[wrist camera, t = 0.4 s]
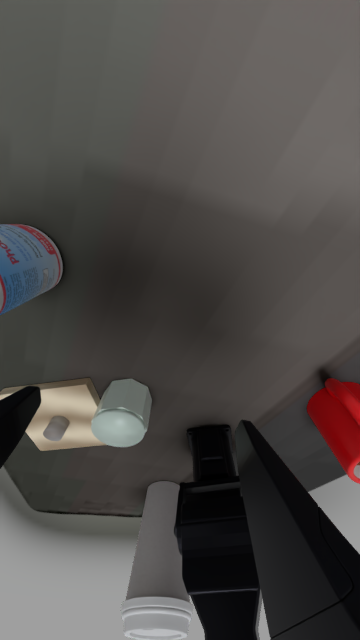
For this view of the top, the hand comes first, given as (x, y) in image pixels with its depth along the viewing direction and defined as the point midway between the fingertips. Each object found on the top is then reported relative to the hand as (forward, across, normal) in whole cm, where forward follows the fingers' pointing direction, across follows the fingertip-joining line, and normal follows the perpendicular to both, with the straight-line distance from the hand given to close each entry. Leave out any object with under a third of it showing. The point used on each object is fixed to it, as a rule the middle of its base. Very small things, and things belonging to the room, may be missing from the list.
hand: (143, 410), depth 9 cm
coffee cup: (+14, -6, +38) cm, 41 cm away
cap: (+14, +3, +14) cm, 20 cm away
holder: (+14, +11, +20) cm, 27 cm away
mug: (+14, -24, +8) cm, 29 cm away
